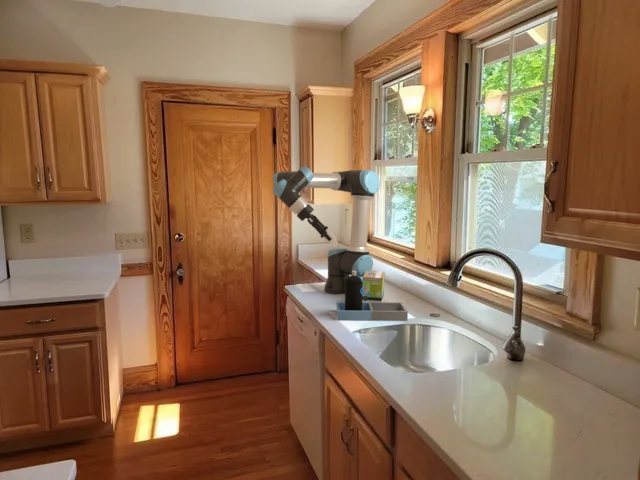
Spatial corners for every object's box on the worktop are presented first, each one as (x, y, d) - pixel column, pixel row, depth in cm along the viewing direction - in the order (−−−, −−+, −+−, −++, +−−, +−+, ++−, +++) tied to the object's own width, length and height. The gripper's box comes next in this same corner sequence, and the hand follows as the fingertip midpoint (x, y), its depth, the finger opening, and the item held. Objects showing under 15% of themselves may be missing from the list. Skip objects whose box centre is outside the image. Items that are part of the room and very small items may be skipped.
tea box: (382, 308, 204) (383, 277, 202) (361, 307, 206) (361, 276, 204) (384, 299, 218) (384, 271, 216) (364, 298, 220) (364, 270, 218)
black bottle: (347, 318, 188) (348, 273, 185) (341, 313, 196) (342, 269, 193) (365, 317, 190) (366, 272, 188) (358, 311, 198) (359, 268, 195)
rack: (336, 310, 200) (336, 302, 200) (401, 310, 200) (402, 302, 199) (337, 320, 186) (337, 311, 186) (407, 320, 186) (407, 311, 185)
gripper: (297, 213, 205) (329, 244, 206) (293, 217, 180) (329, 253, 182) (309, 201, 204) (340, 233, 206) (306, 204, 179) (342, 241, 181)
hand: (335, 243), depth 194 cm, fingers open, 13 cm apart
